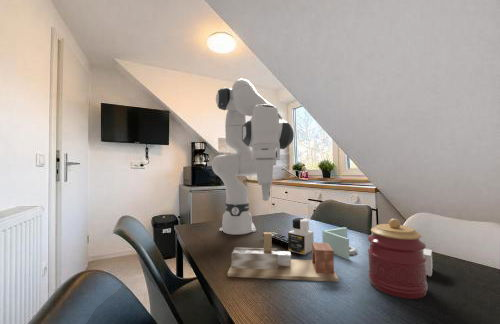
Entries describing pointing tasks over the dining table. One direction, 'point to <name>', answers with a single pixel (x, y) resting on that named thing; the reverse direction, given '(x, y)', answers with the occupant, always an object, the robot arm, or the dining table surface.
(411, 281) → the canister
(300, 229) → the medicine bottle
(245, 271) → the stand
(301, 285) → the dining table surface
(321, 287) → the dining table surface
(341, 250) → the right angle wall
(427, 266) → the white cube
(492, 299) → the dining table surface
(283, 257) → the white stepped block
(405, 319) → the dining table surface
